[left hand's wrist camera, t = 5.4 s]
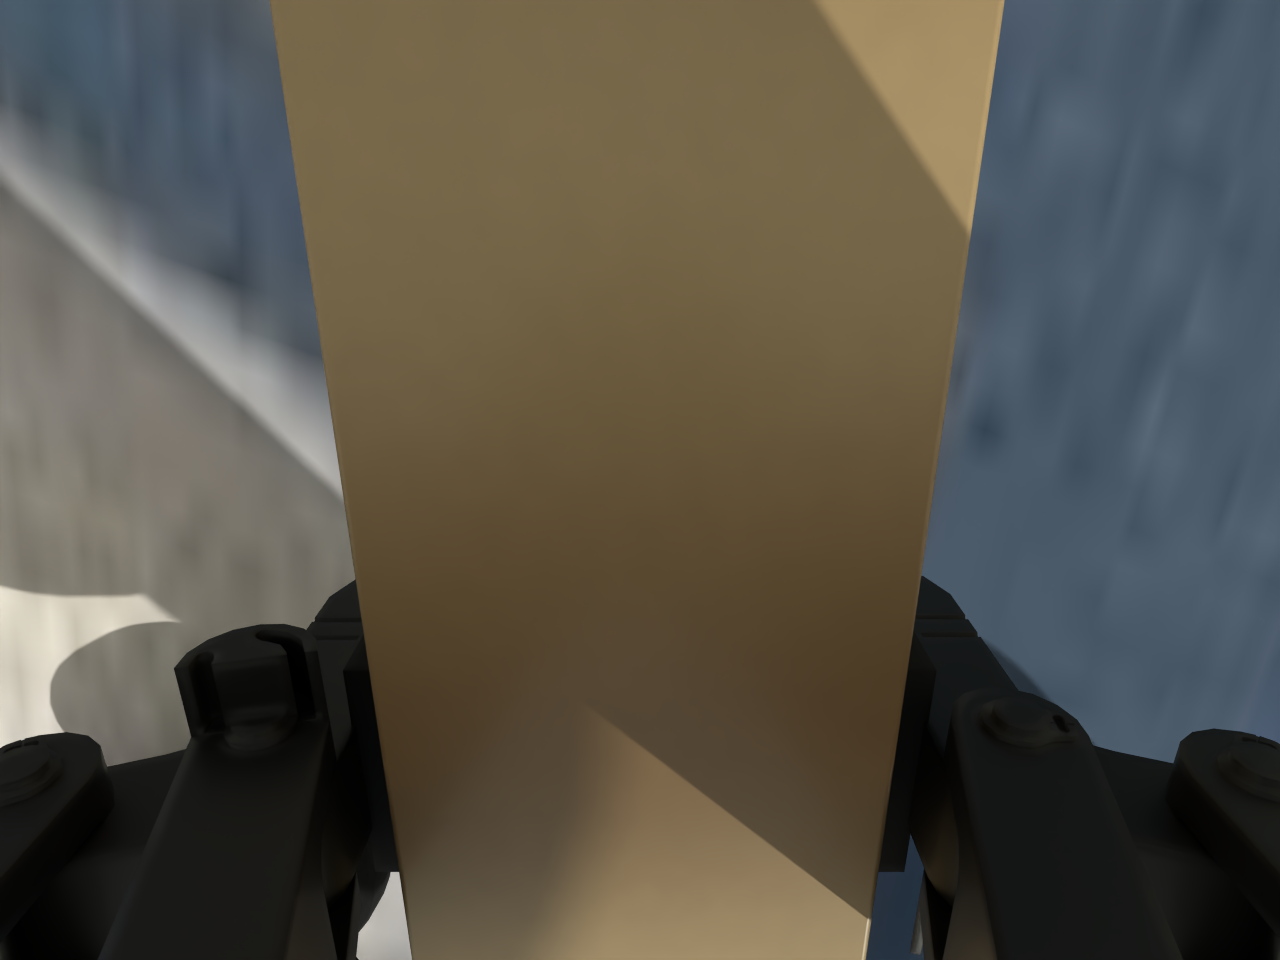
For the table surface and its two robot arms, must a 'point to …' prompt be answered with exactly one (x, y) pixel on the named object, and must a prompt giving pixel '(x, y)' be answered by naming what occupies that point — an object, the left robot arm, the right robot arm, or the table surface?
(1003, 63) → the table surface
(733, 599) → the oak plank
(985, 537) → the table surface
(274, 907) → the left robot arm
